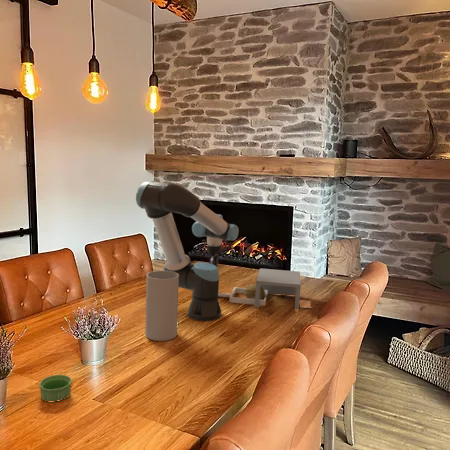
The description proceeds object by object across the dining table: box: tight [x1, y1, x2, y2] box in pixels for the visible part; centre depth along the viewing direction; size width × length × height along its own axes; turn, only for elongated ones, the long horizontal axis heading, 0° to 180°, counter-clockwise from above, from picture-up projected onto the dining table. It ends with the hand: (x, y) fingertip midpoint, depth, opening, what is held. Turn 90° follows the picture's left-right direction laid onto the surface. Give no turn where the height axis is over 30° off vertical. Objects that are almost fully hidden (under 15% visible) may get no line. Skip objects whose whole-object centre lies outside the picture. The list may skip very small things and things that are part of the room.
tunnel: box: [254, 268, 301, 310], centre depth 226 cm, size 28×25×14 cm
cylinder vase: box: [144, 270, 179, 342], centre depth 178 cm, size 12×12×25 cm
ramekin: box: [38, 374, 73, 402], centre depth 133 cm, size 9×9×4 cm
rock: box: [244, 283, 265, 300], centre depth 229 cm, size 10×11×10 cm
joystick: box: [218, 286, 268, 306], centre depth 230 cm, size 30×18×15 cm, turn 81°
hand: (212, 289), depth 232 cm, fingers closed on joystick, 3 cm apart
